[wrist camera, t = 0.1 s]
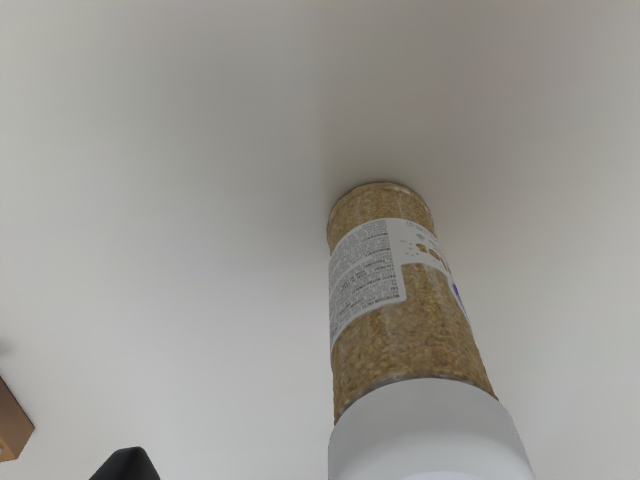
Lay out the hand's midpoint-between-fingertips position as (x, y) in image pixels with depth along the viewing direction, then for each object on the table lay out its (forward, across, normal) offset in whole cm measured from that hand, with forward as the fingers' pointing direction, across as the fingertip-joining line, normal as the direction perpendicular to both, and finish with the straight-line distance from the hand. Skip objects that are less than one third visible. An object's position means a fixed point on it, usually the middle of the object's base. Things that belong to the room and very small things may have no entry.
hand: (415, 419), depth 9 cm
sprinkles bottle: (+15, 0, +4) cm, 16 cm away
